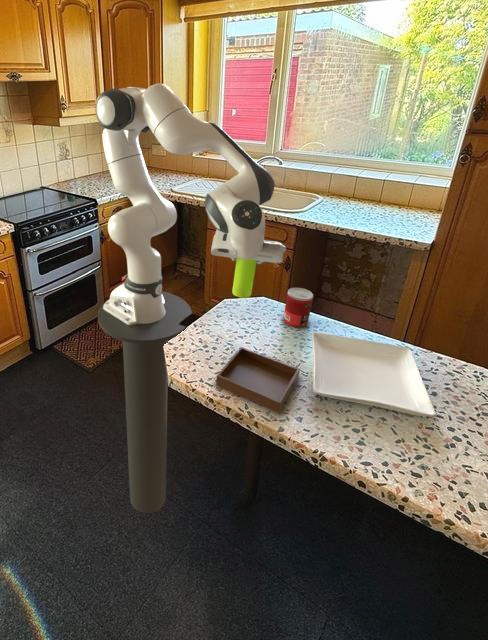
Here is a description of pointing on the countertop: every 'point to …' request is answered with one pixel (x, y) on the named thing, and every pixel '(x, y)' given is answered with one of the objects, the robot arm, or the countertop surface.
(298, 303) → the canned food
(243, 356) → the tray
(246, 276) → the soap dispenser
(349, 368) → the square plate
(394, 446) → the countertop surface
